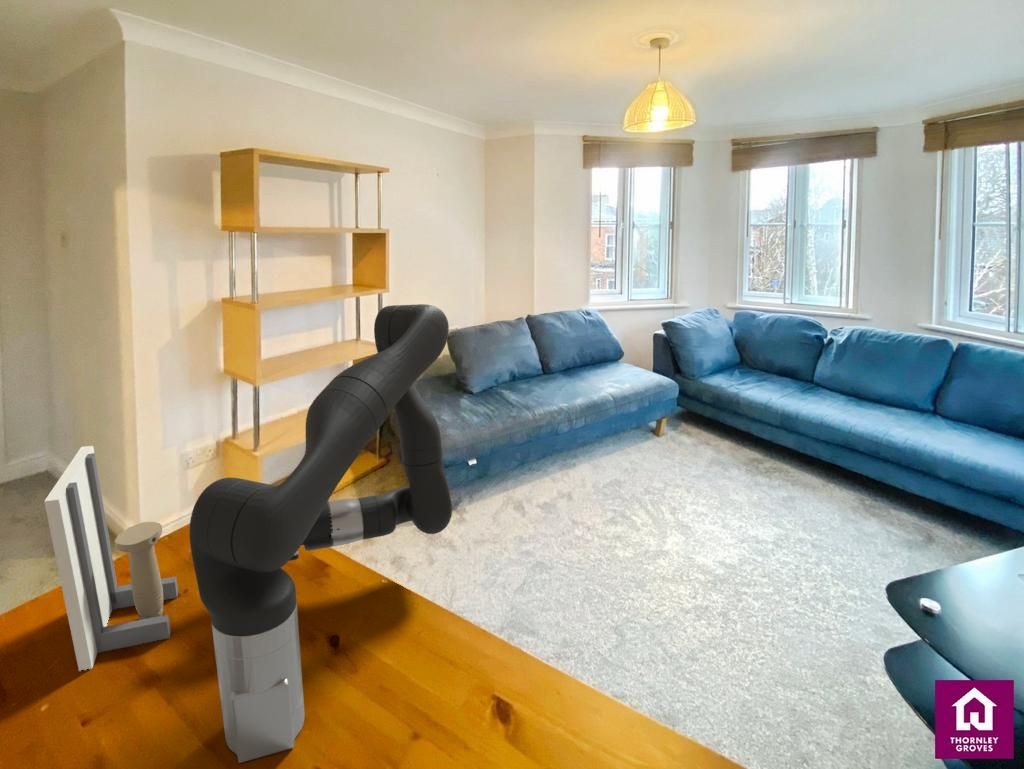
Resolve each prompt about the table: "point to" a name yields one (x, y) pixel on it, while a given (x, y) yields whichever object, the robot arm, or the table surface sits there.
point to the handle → (143, 567)
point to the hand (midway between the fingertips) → (225, 541)
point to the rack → (93, 567)
